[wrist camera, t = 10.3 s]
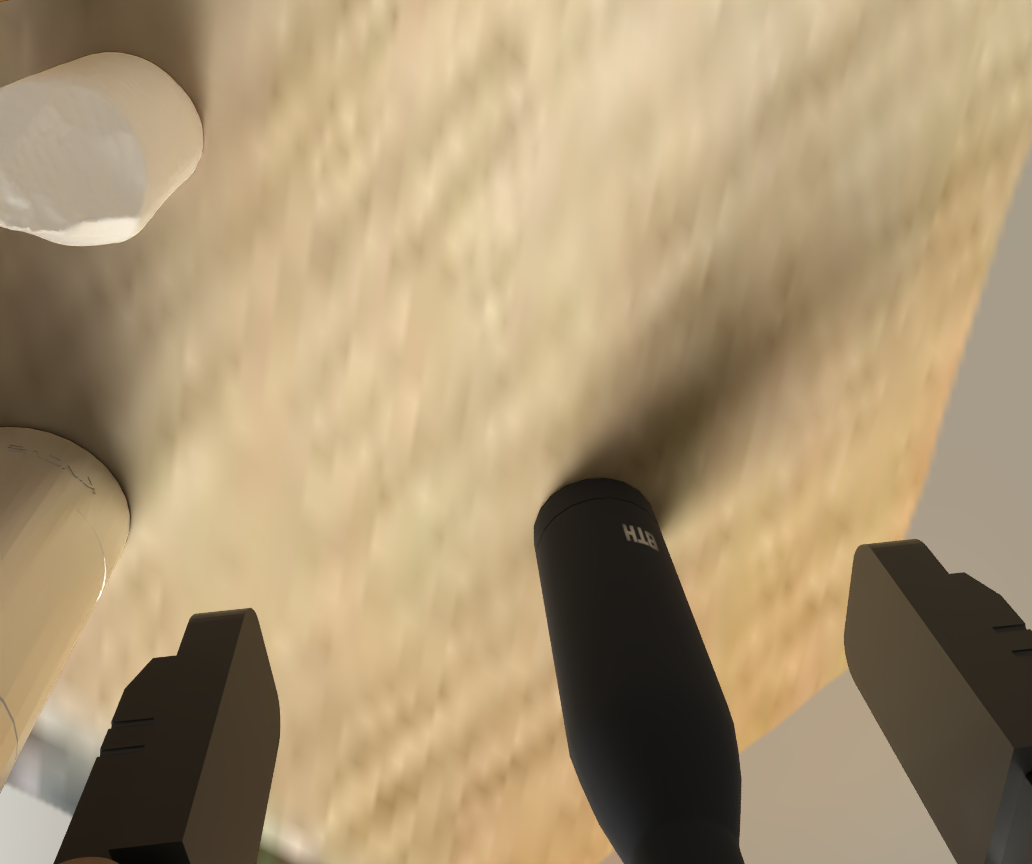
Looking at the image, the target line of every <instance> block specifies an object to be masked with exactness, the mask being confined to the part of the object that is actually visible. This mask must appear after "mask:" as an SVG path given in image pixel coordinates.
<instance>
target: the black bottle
mask: <svg viewBox="0 0 1032 864" xmlns="http://www.w3.org/2000/svg"><path fill="white" fill-rule="evenodd" d="M534 546H535V552H536V558H537V564H538V569H539V575H540V581H541V587H542V593H543V599H544V605H545V611H546V617H547V623H548V629H549V635H550V641H551V647H552V653H553V659H554V665H555V671H556V676H557V682H558V688H559V694H560V700H561V706H562V712H563V718H564V724H565V730H566V736H567V742H568V748H569V754H570V758H571V760H572V763H573V765H574V768H575V771H576V773H577V776H578V779H579V781H580V783H581V786H582V788H583V790H584V792H585V795H586V797H587V799H588V801H589V803H590V806H591V808H592V810H593V812H594V814H595V816H596V819H597V821H598V823H599V825H600V826H601V828H602V830H603V831H604V833H605V834H606V836H607V838H608V839H609V841H610V842H611V844H612V846H613V847H614V849H615V851H616V852H617V854H618V855H619V857H620V858H621V859H622V861H623V863H624V864H744V860H743V858H742V855H741V852H740V848H739V835H740V813H741V772H740V762H739V753H738V746H737V740H736V734H735V728H734V723H733V720H732V717H731V714H730V711H729V708H728V705H727V703H726V700H725V697H724V695H723V692H722V690H721V687H720V684H719V682H718V679H717V677H716V674H715V671H714V669H713V666H712V664H711V661H710V658H709V656H708V653H707V651H706V648H705V645H704V643H703V640H702V638H701V635H700V632H699V630H698V627H697V625H696V622H695V619H694V617H693V614H692V612H691V609H690V606H689V604H688V601H687V599H686V596H685V593H684V591H683V588H682V585H681V583H680V580H679V578H678V575H677V572H676V570H675V567H674V565H673V562H672V559H671V557H670V554H669V552H668V549H667V546H666V544H665V541H664V539H663V536H662V533H661V531H660V528H659V526H658V523H657V520H656V518H655V515H654V513H653V510H652V507H651V505H650V503H649V502H648V501H647V500H646V499H645V497H644V496H643V495H642V494H641V493H640V492H639V491H638V490H636V489H635V488H633V487H631V486H629V485H628V484H626V483H624V482H620V481H615V480H611V479H606V478H601V479H586V480H583V481H580V482H577V483H574V484H571V485H568V486H566V487H565V488H563V489H562V490H560V491H559V492H557V493H556V494H554V495H553V496H552V497H550V499H549V500H548V501H547V503H546V504H545V505H544V506H543V508H542V509H541V510H540V511H539V514H538V517H537V520H536V523H535V525H534Z"/></svg>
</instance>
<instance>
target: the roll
mask: <svg viewBox="0 0 1032 864" xmlns="http://www.w3.org/2000/svg"><path fill="white" fill-rule="evenodd" d="M202 150H203V129H202V124H201V121H200V117H199V115H198V113H197V111H196V108H195V106H194V105H193V103H192V101H191V99H190V98H189V96H188V95H187V94H186V93H185V92H184V90H183V89H182V88H181V87H180V86H179V85H178V84H177V83H176V82H175V81H174V80H173V79H172V78H171V77H170V76H169V75H168V74H167V73H166V72H165V71H163V70H161V69H160V68H159V67H158V66H156V65H154V64H153V63H151V62H149V61H147V60H145V59H143V58H140V57H137V56H134V55H130V54H125V53H117V52H103V53H98V54H91V55H88V56H85V57H82V58H79V59H76V60H73V61H70V62H68V63H64V64H61V65H58V66H55V67H53V68H51V69H48V70H45V71H42V72H39V73H38V74H35V75H31V76H27V77H25V78H23V79H20V80H18V81H16V82H13V83H11V84H9V85H6V86H3V87H0V227H3V228H8V229H10V230H17V231H23V232H26V233H30V234H32V235H36V236H38V237H41V238H43V239H46V240H49V241H51V242H54V243H58V244H61V245H69V246H93V245H104V244H111V243H119V242H123V241H126V240H128V239H130V238H131V237H133V236H135V235H136V234H138V233H139V232H140V231H141V230H142V229H143V228H144V226H145V225H146V224H147V223H148V221H149V220H150V219H151V218H152V217H153V216H154V214H155V213H156V211H157V210H158V209H159V208H160V206H161V205H162V204H163V203H164V202H165V200H166V199H167V198H168V197H169V196H170V195H171V194H172V193H173V192H174V191H175V190H176V189H177V188H178V187H179V186H180V185H181V184H182V183H183V182H184V181H186V180H187V179H188V178H189V177H190V176H191V175H192V174H193V173H194V171H195V169H196V167H197V165H198V162H199V160H200V158H201V155H202Z"/></svg>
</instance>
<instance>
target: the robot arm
mask: <svg viewBox="0 0 1032 864" xmlns="http://www.w3.org/2000/svg"><path fill="white" fill-rule="evenodd" d="M129 525H130V514H129V510H128V505H127V501H126V498H125V496H124V494H123V492H122V490H121V488H120V485H119V483H118V482H117V480H116V479H115V478H114V477H113V475H112V474H111V473H110V471H109V470H108V469H107V468H106V466H104V465H103V464H102V463H101V462H100V461H99V460H98V459H96V458H95V457H94V456H93V455H92V454H91V453H89V452H88V451H86V450H85V449H83V448H81V447H80V446H78V445H76V444H75V443H73V442H71V441H69V440H67V439H64V438H62V437H59V436H57V435H54V434H52V433H49V432H44V431H40V430H35V429H31V428H20V427H0V793H1V791H2V789H3V787H4V785H5V783H6V781H7V779H8V777H9V774H10V772H11V770H12V768H13V766H14V764H15V762H16V760H17V758H18V756H19V754H20V752H21V750H22V748H23V746H24V744H25V742H26V740H27V738H28V736H29V734H30V732H31V730H32V728H33V726H34V724H35V722H36V720H37V718H38V716H39V715H40V713H41V711H42V709H43V707H44V705H45V703H46V701H47V699H48V697H49V695H50V693H51V691H52V689H53V687H54V685H55V683H56V681H57V679H58V677H59V675H60V673H61V671H62V669H63V667H64V665H65V663H66V661H67V659H68V657H69V655H70V653H71V651H72V649H73V647H74V645H75V643H76V641H77V639H78V637H79V635H80V633H81V631H82V629H83V627H84V625H85V623H86V622H87V620H88V618H89V616H90V614H91V612H92V610H93V608H94V606H95V604H96V602H97V600H98V598H99V596H100V595H101V593H102V591H103V589H104V587H105V585H106V583H107V581H108V579H109V577H110V575H111V573H112V571H113V569H114V567H115V565H116V563H117V561H118V559H119V557H120V555H121V553H122V551H123V549H124V547H125V544H126V541H127V537H128V534H129ZM844 646H845V654H846V659H847V663H848V667H849V670H850V673H851V675H852V678H853V680H854V682H855V684H856V686H857V687H858V689H859V691H860V693H861V694H862V696H863V698H864V700H865V701H866V703H867V705H868V707H869V708H870V710H871V712H872V713H873V715H874V717H875V719H876V721H877V723H878V724H879V726H880V728H881V729H882V731H883V733H884V735H885V736H886V738H887V740H888V742H889V743H890V746H891V747H892V749H893V751H894V753H895V754H896V756H897V758H898V759H899V761H900V763H901V765H902V767H903V768H904V770H905V772H906V774H907V776H908V777H909V779H910V781H911V783H912V784H913V786H914V788H915V790H916V791H917V793H918V795H919V797H920V798H921V800H922V802H923V804H924V806H925V807H926V809H927V811H928V813H929V814H930V816H931V818H932V820H933V821H934V823H935V825H936V826H937V829H938V830H939V832H940V834H941V835H942V837H943V839H944V841H945V842H946V844H947V846H948V848H949V850H950V851H951V853H952V855H953V857H954V859H955V860H956V862H957V863H958V864H1032V631H1031V630H1030V629H1029V630H1027V629H1026V627H1025V623H1024V622H1023V620H1022V619H1021V618H1020V617H1019V616H1018V615H1017V613H1016V612H1015V611H1014V610H1013V609H1012V608H1011V606H1010V605H1009V604H1008V603H1007V602H1006V601H1005V600H1004V598H1003V597H1002V596H1001V595H1000V594H998V593H996V592H995V591H993V590H992V589H990V588H988V587H987V586H985V585H984V584H982V583H980V582H979V581H977V580H975V579H974V578H972V577H971V576H969V575H967V574H966V573H954V574H949V573H948V572H947V571H946V570H945V569H944V567H943V566H942V565H941V564H940V562H939V561H938V560H937V559H936V557H935V556H934V555H933V554H932V552H931V551H930V550H929V549H928V547H927V546H926V545H925V544H924V543H923V542H921V541H920V540H917V539H911V540H901V541H892V542H882V543H873V544H864V545H860V546H859V547H858V548H857V550H856V552H855V555H854V560H853V567H852V575H851V583H850V591H849V599H848V607H847V615H846V623H845V631H844ZM111 724H112V727H111V729H108V731H107V734H106V736H105V739H104V741H103V744H102V746H101V749H100V757H97V758H96V761H95V763H94V766H93V768H92V771H91V773H90V776H89V778H88V780H87V783H86V785H85V788H84V790H83V793H82V795H81V798H80V800H79V803H78V805H77V807H76V810H75V812H74V815H73V817H72V820H71V822H70V825H69V827H68V830H67V832H66V835H65V837H64V839H63V842H62V844H61V847H60V849H59V852H58V854H57V857H56V859H55V861H54V864H256V862H257V857H258V852H259V846H260V841H261V836H262V830H263V825H264V820H265V815H266V809H267V804H268V799H269V793H270V788H271V783H272V778H273V772H274V767H275V762H276V756H277V751H278V746H279V739H280V708H279V700H278V695H277V690H276V687H275V683H274V679H273V675H272V671H271V667H270V663H269V659H268V656H267V652H266V648H265V644H264V640H263V636H262V632H261V629H260V625H259V621H258V618H257V615H256V613H255V611H254V610H253V609H252V608H246V609H236V610H227V611H218V612H208V613H199V614H194V615H193V616H192V617H191V618H190V620H189V622H188V625H187V628H186V630H185V633H184V636H183V639H182V642H181V645H180V647H179V650H178V653H177V656H168V657H159V658H153V659H152V660H151V661H150V662H149V663H148V664H147V665H146V666H145V667H144V669H143V670H142V671H141V672H140V673H139V674H138V675H137V676H136V677H135V678H134V679H133V681H132V682H131V683H130V684H129V685H128V686H127V687H126V688H125V690H124V692H123V695H122V697H121V699H120V702H119V704H118V707H117V709H116V712H115V714H114V717H113V719H112V722H111Z"/></svg>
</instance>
